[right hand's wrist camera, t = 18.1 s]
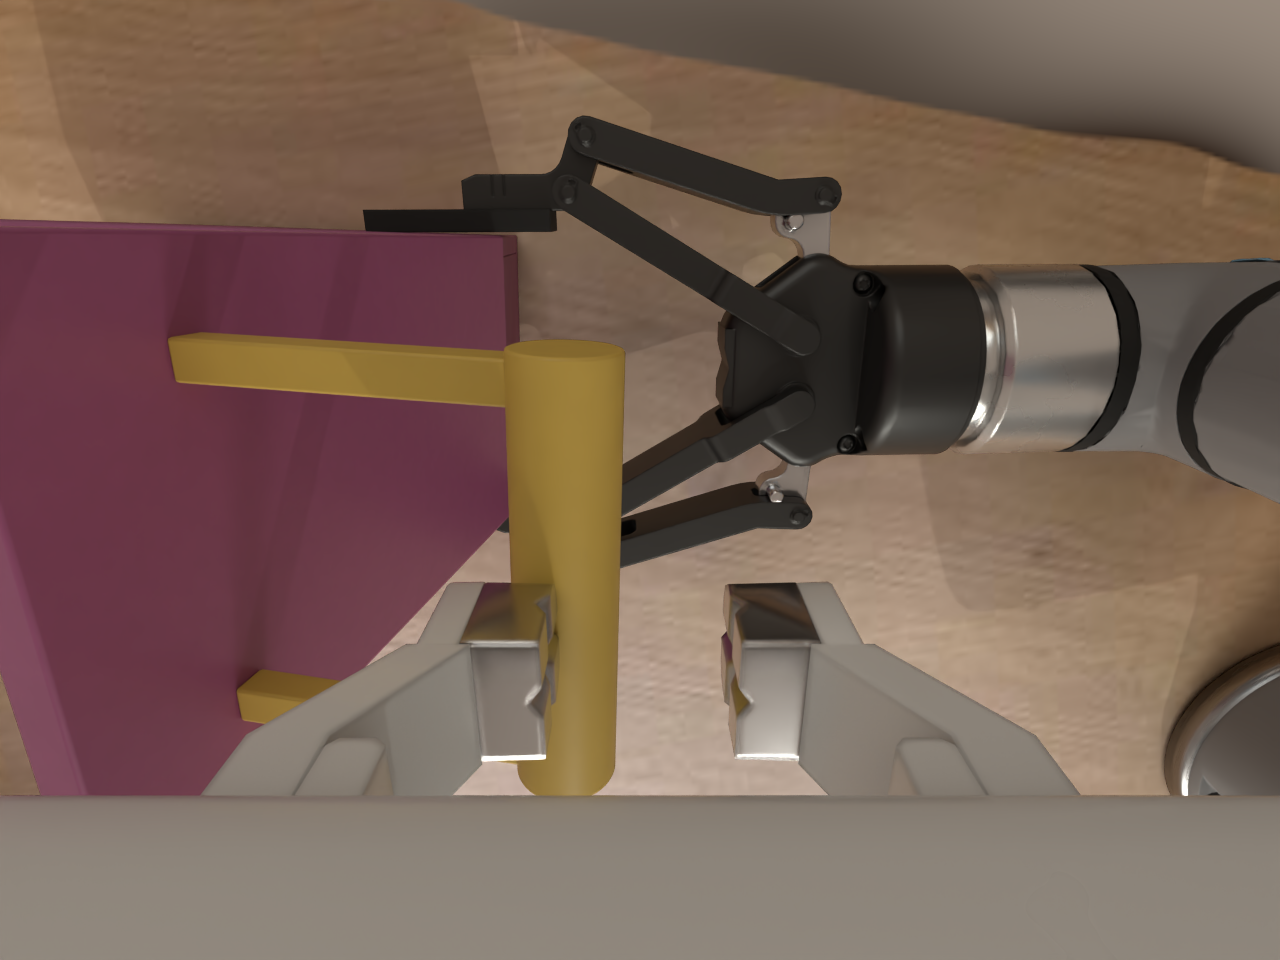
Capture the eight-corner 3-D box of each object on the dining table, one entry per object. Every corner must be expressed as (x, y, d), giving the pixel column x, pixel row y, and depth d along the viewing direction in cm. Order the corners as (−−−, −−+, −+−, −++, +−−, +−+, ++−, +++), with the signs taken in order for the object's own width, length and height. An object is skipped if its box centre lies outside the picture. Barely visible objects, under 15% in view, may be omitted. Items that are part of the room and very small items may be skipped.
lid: (76, 914, 11) (562, 1021, 9) (-151, 222, 7) (555, 250, 6) (492, 511, 26) (693, 532, 25) (480, 235, 23) (711, 243, 22)
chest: (192, 441, 34) (65, 508, 26) (149, 223, 30) (-12, 219, 22) (522, 444, 35) (503, 508, 27) (516, 235, 32) (493, 235, 23)
